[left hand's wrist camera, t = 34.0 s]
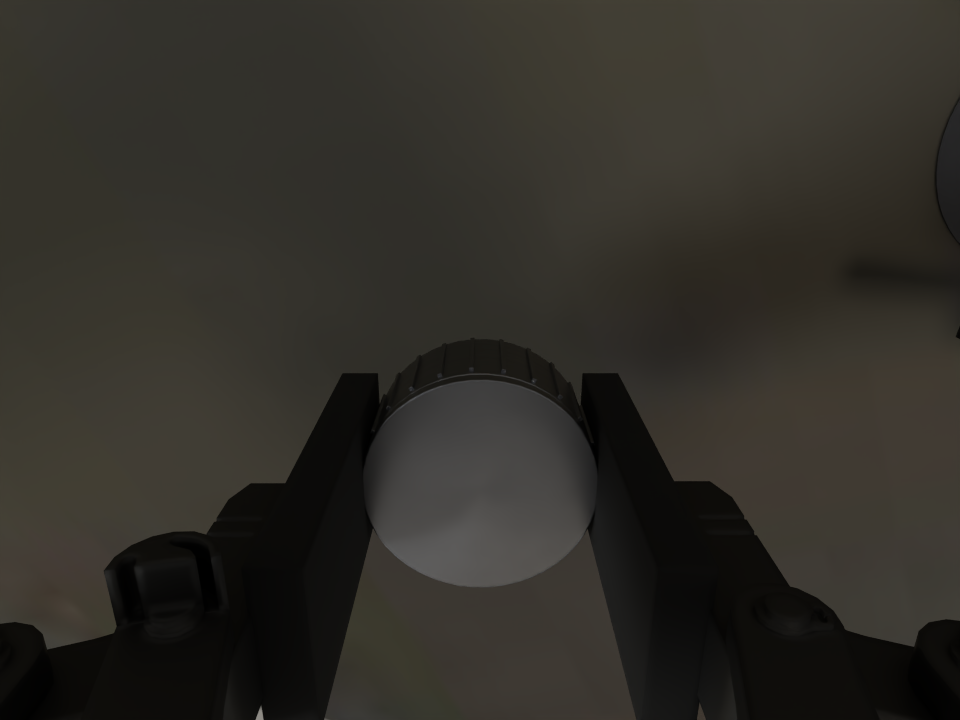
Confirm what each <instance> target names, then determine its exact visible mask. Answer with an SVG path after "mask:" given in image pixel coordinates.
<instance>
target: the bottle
mask: <svg viewBox="0 0 960 720" xmlns="http://www.w3.org/2000/svg"><path fill="white" fill-rule="evenodd" d="M937 193H938V200H939V205H940V208H941V211H942V215H943V217H944V219H945V222H946V224H947V226H948V228H949V230H950V231H951V233H952V234H953V236H954V237H955V238H956V240H957V241H958V242H959V243H960V100H959V101H958V103H957V105H956V107H955V109H954V111H953V113H952V115H951V117H950V119H949V122H948V124H947V127H946V130H945V132H944V135H943V138H942V142H941V146H940V150H939V155H938V163H937Z"/></svg>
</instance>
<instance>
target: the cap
mask: <svg viewBox="0 0 960 720" xmlns="http://www.w3.org/2000/svg"><path fill="white" fill-rule="evenodd" d="M370 433H371V434H372V437H371V440H370V443H369V446H368V449H367V452H366V455H365V459H364V463H363V484H364V499H365V511H366V513H367V516H368V518H369V521H370V523H371V525H372V527H373V529H374V530H375V532H376V534H377V536H378V537H379V538H380V540H381V541H382V542H383V543H384V545H385V546H386V547H387V548H388V549H389V550H390V551H391V552H392V553H393V554H394V555H395V556H396V557H397V558H398V559H400V560H401V561H402V562H403V563H405V564H406V565H408V566H409V567H411V568H412V569H414V570H416V571H417V572H419V573H421V574H424V575H426V576H428V577H430V578H433V579H436V580H439V581H442V582H445V583H449V584H454V585H458V586H467V587H494V586H503V585H508V584H512V583H517V582H520V581H523V580H525V579H528V578H531V577H533V576H535V575H537V574H540V573H542V572H544V571H545V570H547V569H549V568H550V567H552V566H553V565H555V564H556V563H558V562H559V561H560V560H561V559H563V558H564V557H565V556H566V555H567V554H568V553H569V552H570V551H571V550H572V549H573V548H574V547H575V546H576V545H577V543H578V542H579V541H580V539H581V538H582V537H583V535H584V534H585V532H586V530H587V528H588V527H589V525H590V523H591V521H592V518H593V515H594V513H595V506H596V493H597V478H598V465H597V461H596V456H595V453H594V450H593V447H592V446H594V445H595V443H594V440H593V437H592V434H591V431H590V428H589V425H588V422H587V419H586V416H585V413H584V410H583V407H582V405H580V406H579V404H578V402H577V399H576V396H575V393H574V390H573V387H572V384H571V383H570V382H569V383H567V381H566V380H565V379H564V378H563V376H562V375H561V374H560V373H559V372H558V371H557V370H556V369H555V366H554V364H553V363H552V362H551V363H549V362H547V361H546V360H544V359H543V358H542V357H540V356H539V355H537V354H535V353H533V352H531V349H529V348H527V349H525V348H523V347H520V346H517V345H515V344H511V343H507V342H504V341H503V340H499V341H497V340H488V339H475V338H470V340H465V341H458V342H454V343H450V344H446V343H444V344H442V346H441V347H438V348H436V349H434V350H431V351H430V352H428V353H426V354H424V355H422V356H421V355H419V356H417V359H416V360H415V361H414V362H413V363H411V364H410V365H409V366H408V367H407V368H406V369H405V370H404V371H403V372H402V373H401V374H400V373H398V374H397V375H396V378H395V381H394V383H393V384H392V386H391V388H390V389H389V391H388V393H387V395H385V394H384V395H383V397H382V400H381V403H380V406H379V409H378V411H377V414H376V417H375V420H374V423H373V426H372V429H371V432H370Z"/></svg>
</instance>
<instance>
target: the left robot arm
mask: <svg viewBox="0 0 960 720" xmlns="http://www.w3.org/2000/svg"><path fill="white" fill-rule="evenodd" d="M581 405H582V407H583V410H584V413H585V416H586V419H587V422H588V425H589V428H590V431H591V434H592V437H593V440H594V443H595V445H594V446H592V447H593V450H594V453H595V456H596V461H597V465H598V478H597V493H596V506H595V513H594V515H593V518H592V521H591V523H590V525H589V527H588V532H589V536H590V540H591V543H592V547H593V551H594V555H595V559H596V563H597V567H598V571H599V575H600V579H601V583H602V587H603V590H604V594H605V598H606V602H607V606H608V610H609V614H610V618H611V622H612V626H613V630H614V634H615V637H616V641H617V645H618V649H619V653H620V657H621V661H622V665H623V669H624V673H625V677H626V681H627V684H628V688H629V692H630V696H631V700H632V704H633V708H634V712H635V716H636V720H697V715H698V708H699V701H700V704H701V707H702V710H703V712H704V715H705V718H706V720H960V621H956V620H947V619H946V620H940V621H934V622H929V623H928V624H926V625H925V626H924V627H923V628H922V629H921V630H920V631H919V632H918V636H917V639H916V643H915V646H914V647H912V646H907V645H903V644H898V643H894V642H889V641H885V640H880V639H876V638H872V637H867V636H863V635H860V634H857V633H853V632H850V631H847V630H845V629H844V626H843V624H842V623H841V621H840V620H839V618H838V617H837V615H836V614H835V612H834V611H833V610H832V609H831V608H829V607H828V606H827V605H825V604H824V603H823V602H822V601H820V600H819V599H818V598H816V597H814V596H812V595H810V594H808V593H806V592H804V591H802V590H800V589H798V588H794V587H790V586H789V584H788V583H787V581H786V580H785V578H784V577H783V575H782V574H781V572H780V571H779V569H778V567H777V566H776V564H775V563H774V561H773V560H772V558H771V557H770V555H769V554H768V552H767V550H766V549H765V547H764V546H763V544H762V543H761V541H760V540H759V538H758V537H757V535H754V530H753V529H752V527H751V526H750V524H749V523H748V521H747V520H744V515H743V513H742V512H741V510H740V509H739V507H738V506H737V504H736V503H735V501H734V500H733V498H732V497H731V496H730V495H728V494H727V493H725V492H724V491H723V490H721V489H720V488H718V487H717V486H716V485H714V484H713V483H711V482H710V481H674V480H673V478H672V477H671V475H670V473H669V471H668V469H667V467H666V465H665V463H664V461H663V459H662V457H661V455H660V453H659V452H658V450H657V448H656V446H655V444H654V442H653V440H652V438H651V436H650V434H649V432H648V430H647V428H646V427H645V425H644V423H643V421H642V419H641V417H640V415H639V413H638V411H637V409H636V407H635V405H634V403H633V402H632V400H631V398H630V396H629V394H628V392H627V390H626V388H625V386H624V384H623V382H622V380H621V378H620V377H619V375H618V373H583V376H582V394H581ZM379 406H380V403H379V386H378V373H343V374H342V375H341V377H340V379H339V381H338V383H337V385H336V387H335V389H334V391H333V393H332V395H331V397H330V399H329V400H328V402H327V404H326V406H325V408H324V410H323V412H322V414H321V416H320V418H319V420H318V422H317V424H316V425H315V427H314V429H313V431H312V433H311V435H310V437H309V439H308V441H307V443H306V445H305V447H304V449H303V450H302V452H301V454H300V456H299V458H298V460H297V462H296V464H295V466H294V468H293V470H292V472H291V474H290V476H289V477H288V479H287V481H286V483H251V484H249V485H248V486H247V487H245V488H244V489H242V490H241V491H240V492H238V493H237V494H236V495H234V496H233V497H231V498H230V499H229V500H228V501H227V503H226V504H225V506H224V508H223V509H222V511H221V512H220V514H219V515H218V517H217V521H216V522H214V523H213V525H212V526H211V528H210V529H209V531H208V532H207V535H205V534H202V533H198V532H194V531H190V532H171V533H166V534H161V535H157V536H152V537H150V538H148V539H145V540H143V541H140V542H138V543H136V544H133V545H131V546H130V547H128V548H127V549H125V550H124V551H123V552H121V553H120V554H118V555H117V556H115V557H114V558H113V560H112V561H111V562H110V563H109V565H108V566H107V567H106V569H105V570H104V574H105V578H106V582H107V587H108V591H109V595H110V599H111V603H112V608H113V612H114V616H115V620H116V625H117V627H116V630H115V632H114V633H113V634H110V635H107V636H103V637H100V638H96V639H92V640H88V641H83V642H79V643H75V644H70V645H66V646H61V647H57V648H52V649H48V650H47V648H46V644H45V641H44V637H43V634H42V633H41V632H40V631H39V630H37V629H36V628H35V627H34V626H33V625H28V624H23V623H17V622H12V623H4V624H0V720H256V717H257V714H258V711H259V709H260V706H261V705H262V712H263V719H264V720H324V717H325V714H326V710H327V706H328V702H329V698H330V694H331V690H332V686H333V682H334V678H335V674H336V670H337V667H338V663H339V659H340V655H341V651H342V647H343V643H344V639H345V635H346V631H347V627H348V623H349V620H350V616H351V612H352V608H353V604H354V600H355V596H356V592H357V588H358V584H359V580H360V576H361V573H362V569H363V565H364V561H365V557H366V553H367V549H368V545H369V541H370V537H371V533H372V529H373V527H372V525H371V523H370V521H369V518H368V516H367V513H366V511H365V499H364V484H363V463H364V459H365V455H366V452H367V449H368V446H369V443H370V440H371V437H372V434H371V433H370V432H371V429H372V426H373V423H374V420H375V417H376V414H377V411H378V409H379Z"/></svg>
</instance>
